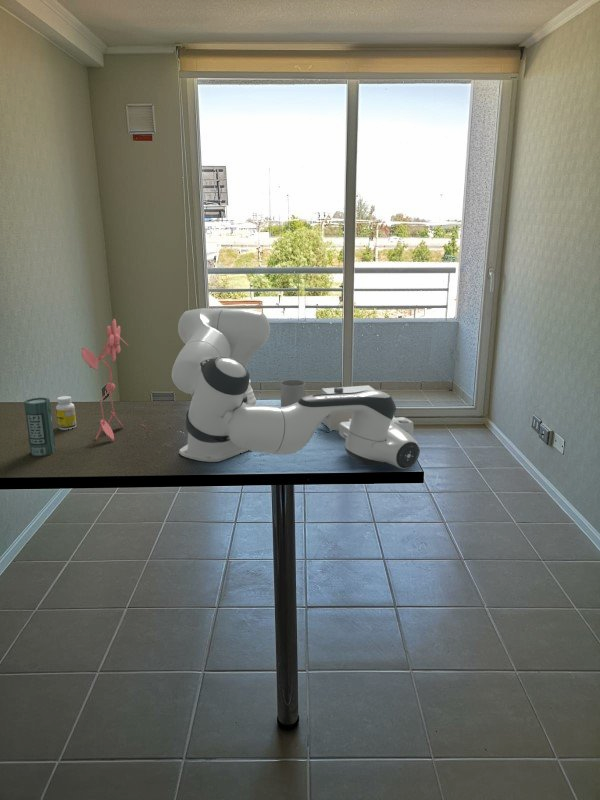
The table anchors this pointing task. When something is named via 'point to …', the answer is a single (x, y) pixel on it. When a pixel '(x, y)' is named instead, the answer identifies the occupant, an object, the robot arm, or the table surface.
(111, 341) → the figurine
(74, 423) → the supplement bottle
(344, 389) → the camera housing
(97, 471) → the table surface
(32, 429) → the can
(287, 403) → the cup
